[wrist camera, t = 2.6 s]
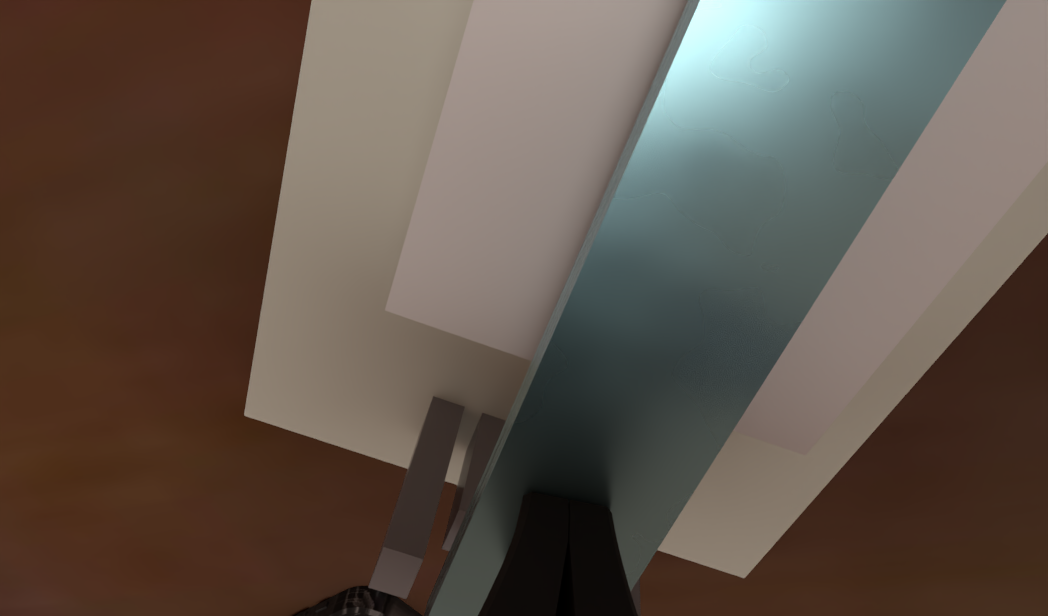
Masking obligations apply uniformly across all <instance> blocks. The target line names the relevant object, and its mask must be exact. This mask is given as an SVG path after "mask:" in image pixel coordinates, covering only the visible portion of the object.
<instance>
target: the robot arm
mask: <svg viewBox="0 0 1048 616" xmlns="http://www.w3.org/2000/svg"><path fill="white" fill-rule="evenodd" d="M478 616H638V614H637V611H636V608H635V605H634V602H633V598H632V595H631V592H630V588H629V585H628V581H627V577H626V574H625V570H624V567H623V563H622V559H621V555H620V551H619V546H618V542H617V537H616V533H615V528H614V522H613V516H612V512H611V511H610V510H609V509H608V507H606V506H601V505H595V504H590V503H585V502H580V501H575V500H569V499H565V498H560V497H555V496H550V495H545V494H540V493H535V492H530V493H528V494H525V495H523V499H522V503H521V507H520V512H519V516H518V520H517V524H516V528H515V532H514V535H513V538H512V541H511V544H510V546H509V549H508V551H507V554H506V556H505V559H504V561H503V564H502V566H501V568H500V570H499V572H498V575H497V577H496V579H495V581H494V583H493V585H492V587H491V590H490V592H489V594H488V596H487V598H486V600H485V602H484V604H483V606H482V608H481V610H480V612H479V614H478Z"/></svg>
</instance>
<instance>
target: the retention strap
mask: <svg viewBox="0 0 1048 616" xmlns="http://www.w3.org/2000/svg"><path fill="white" fill-rule="evenodd" d="M1005 2H1006V0H688V2H687V4H686V7H685V9H684V11H683V14H682V16H681V18H680V20H679V23H678V25H677V27H676V30H675V32H674V34H673V37H672V39H671V41H670V44H669V46H668V48H667V50H666V53H665V55H664V57H663V60H662V62H661V64H660V67H659V69H658V71H657V74H656V76H655V78H654V80H653V83H652V85H651V87H650V90H649V92H648V94H647V97H646V99H645V101H644V104H643V106H642V108H641V110H640V113H639V115H638V117H637V120H636V122H635V124H634V127H633V129H632V131H631V133H630V136H629V138H628V140H627V143H626V145H625V147H624V150H623V152H622V154H621V157H620V159H619V161H618V163H617V166H616V168H615V170H614V173H613V175H612V177H611V180H610V182H609V184H608V187H607V189H606V191H605V193H604V196H603V198H602V200H601V203H600V205H599V207H598V210H597V212H596V214H595V217H594V219H593V221H592V223H591V226H590V228H589V230H588V233H587V235H586V237H585V240H584V242H583V244H582V246H581V249H580V251H579V253H578V256H577V258H576V260H575V263H574V265H573V267H572V270H571V272H570V274H569V276H568V279H567V281H566V283H565V286H564V288H563V290H562V293H561V295H560V297H559V300H558V302H557V304H556V306H555V309H554V311H553V313H552V316H551V318H550V320H549V323H548V325H547V327H546V330H545V332H544V334H543V336H542V339H541V341H540V343H539V346H538V348H537V350H536V353H535V355H534V357H533V359H532V362H531V364H530V366H529V369H528V371H527V373H526V376H525V378H524V380H523V383H522V385H521V387H520V389H519V392H518V394H517V396H516V399H515V401H514V403H513V406H512V408H511V410H510V413H509V415H508V417H507V419H506V422H505V424H504V426H503V429H502V431H501V433H500V436H499V438H498V440H497V443H496V445H495V447H494V449H493V452H492V454H491V456H490V459H489V461H488V463H487V466H486V468H485V470H484V472H483V475H482V477H481V479H480V482H479V484H478V486H477V489H476V491H475V493H474V496H473V498H472V500H471V502H470V505H469V507H468V509H467V512H466V514H465V516H464V519H463V521H462V523H461V526H460V528H459V530H458V532H457V535H456V537H455V539H454V542H453V544H452V546H451V549H450V551H449V553H448V556H447V558H446V560H445V562H444V565H443V567H442V569H441V572H440V574H439V576H438V579H437V581H436V583H435V585H434V588H433V590H432V592H431V595H430V597H429V599H428V602H427V606H426V611H425V615H424V616H478V614H479V612H480V610H481V608H482V606H483V604H484V602H485V600H486V598H487V596H488V594H489V592H490V590H491V587H492V585H493V583H494V581H495V579H496V577H497V575H498V572H499V570H500V568H501V566H502V564H503V561H504V559H505V556H506V554H507V551H508V549H509V546H510V544H511V541H512V538H513V535H514V532H515V528H516V524H517V520H518V516H519V512H520V507H521V503H522V499H523V495H525V494H528V493H530V492H535V493H540V494H545V495H550V496H555V497H560V498H565V499H569V500H575V501H580V502H585V503H590V504H595V505H601V506H606V507H608V509H609V510H610V511H611V512H612V516H613V522H614V528H615V533H616V537H617V542H618V546H619V551H620V555H621V559H622V563H623V567H624V570H625V574H626V577H627V581H628V585H629V588H630V592H631V590H632V589H633V587H634V585H635V584H636V582H637V581H638V579H639V578H640V576H641V574H642V573H643V571H644V570H645V568H646V567H647V565H648V563H649V562H650V560H651V559H652V557H653V556H654V554H655V552H656V551H657V549H658V548H659V546H660V545H661V543H662V541H663V540H664V538H665V537H666V535H667V534H668V532H669V530H670V529H671V527H672V526H673V524H674V523H675V521H676V519H677V518H678V516H679V515H680V513H681V512H682V510H683V508H684V507H685V505H686V504H687V502H688V501H689V499H690V497H691V496H692V494H693V493H694V491H695V490H696V488H697V486H698V485H699V483H700V482H701V480H702V479H703V477H704V475H705V474H706V472H707V471H708V469H709V468H710V466H711V464H712V463H713V461H714V460H715V458H716V457H717V455H718V453H719V452H720V450H721V449H722V447H723V446H724V444H725V442H726V441H727V439H728V438H729V436H730V435H731V433H732V431H733V430H734V428H735V427H736V425H737V424H738V422H739V420H740V419H741V417H742V416H743V414H744V412H745V411H746V409H747V408H748V406H749V405H750V403H751V401H752V400H753V398H754V397H755V395H756V394H757V392H758V390H759V389H760V387H761V386H762V384H763V383H764V381H765V379H766V378H767V376H768V375H769V373H770V372H771V370H772V368H773V367H774V365H775V364H776V362H777V361H778V359H779V357H780V356H781V354H782V353H783V351H784V350H785V348H786V346H787V345H788V343H789V342H790V340H791V339H792V337H793V335H794V334H795V332H796V331H797V329H798V328H799V326H800V324H801V323H802V321H803V320H804V318H805V317H806V315H807V313H808V312H809V310H810V309H811V307H812V306H813V304H814V302H815V301H816V299H817V298H818V296H819V295H820V293H821V291H822V290H823V288H824V287H825V285H826V284H827V282H828V280H829V279H830V277H831V276H832V274H833V273H834V271H835V269H836V268H837V266H838V265H839V263H840V262H841V260H842V258H843V257H844V255H845V254H846V252H847V251H848V249H849V247H850V246H851V244H852V243H853V241H854V239H855V238H856V236H857V235H858V233H859V232H860V230H861V228H862V227H863V225H864V224H865V222H866V221H867V219H868V217H869V216H870V214H871V213H872V211H873V210H874V208H875V206H876V205H877V203H878V202H879V200H880V199H881V197H882V195H883V194H884V192H885V191H886V189H887V188H888V186H889V184H890V183H891V181H892V180H893V178H894V177H895V175H896V173H897V172H898V170H899V169H900V167H901V166H902V164H903V162H904V161H905V159H906V158H907V156H908V155H909V153H910V151H911V150H912V148H913V147H914V145H915V144H916V142H917V140H918V139H919V137H920V136H921V134H922V133H923V131H924V129H925V128H926V126H927V125H928V123H929V122H930V120H931V118H932V117H933V115H934V114H935V112H936V111H937V109H938V107H939V106H940V104H941V103H942V101H943V100H944V98H945V96H946V95H947V93H948V92H949V90H950V89H951V87H952V85H953V84H954V82H955V81H956V79H957V78H958V76H959V74H960V73H961V71H962V70H963V68H964V67H965V65H966V63H967V62H968V60H969V59H970V57H971V55H972V54H973V52H974V51H975V49H976V48H977V46H978V44H979V43H980V41H981V40H982V38H983V37H984V35H985V33H986V32H987V30H988V29H989V27H990V26H991V24H992V22H993V21H994V19H995V18H996V16H997V15H998V13H999V11H1000V10H1001V8H1002V7H1003V5H1004V4H1005Z"/></svg>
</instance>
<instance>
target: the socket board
mask: <svg viewBox="0 0 1048 616" xmlns="http://www.w3.org/2000/svg"><path fill="white" fill-rule="evenodd" d="M687 2H688V0H312V2H311V8H310V15H309V21H308V27H307V33H306V39H305V45H304V51H303V57H302V63H301V70H300V76H299V82H298V88H297V94H296V100H295V106H294V112H293V119H292V125H291V131H290V137H289V143H288V149H287V155H286V161H285V167H284V174H283V180H282V186H281V192H280V198H279V204H278V210H277V216H276V223H275V229H274V235H273V241H272V247H271V253H270V259H269V265H268V271H267V278H266V284H265V290H264V296H263V302H262V308H261V314H260V320H259V327H258V333H257V339H256V345H255V351H254V357H253V363H252V369H251V375H250V382H249V388H248V394H247V400H246V406H245V412H244V416H247V417H250V418H253V419H256V420H259V421H262V422H265V423H268V424H272V425H275V426H278V427H281V428H284V429H287V430H290V431H293V432H296V433H299V434H302V435H305V436H308V437H312V438H315V439H318V440H321V441H324V442H327V443H330V444H333V445H336V446H339V447H342V448H345V449H348V450H351V451H355V452H358V453H361V454H364V455H367V456H370V457H373V458H376V459H379V460H382V461H385V462H388V463H391V464H395V465H398V466H401V467H404V468H407V469H408V470H407V473H406V476H405V479H404V482H403V485H402V488H401V491H400V494H399V497H398V500H397V503H396V506H395V509H394V512H393V515H392V518H391V521H390V524H389V527H388V530H387V533H386V536H385V539H384V542H383V545H382V548H381V551H380V554H379V557H378V560H377V563H376V566H375V569H374V572H373V575H372V578H371V581H370V584H369V587H368V588H372V589H375V590H378V591H381V592H385V593H388V594H391V595H394V596H398V597H401V598H404V599H407V596H408V594H409V592H410V589H411V587H412V585H413V582H414V580H415V578H416V575H417V573H418V571H419V568H420V566H421V564H422V561H423V559H424V555H425V552H426V548H427V544H428V541H429V537H430V533H431V530H432V526H433V522H434V518H435V515H436V511H437V507H438V504H439V500H440V496H441V493H442V489H443V485H444V482H445V481H447V482H450V483H453V484H456V485H457V489H456V493H455V497H454V501H453V505H452V509H451V513H450V517H449V521H448V525H447V529H446V533H445V537H444V541H443V545H442V549H444V550H447V551H450V549H451V546H452V544H453V542H454V539H455V537H456V535H457V532H458V530H459V528H460V526H461V523H462V521H463V519H464V516H465V514H466V512H467V509H468V507H469V505H470V502H471V500H472V498H473V496H474V493H475V491H476V489H477V486H478V484H479V482H480V479H481V477H482V475H483V472H484V470H485V468H486V466H487V463H488V461H489V459H490V456H491V454H492V452H493V449H494V447H495V445H496V443H497V440H498V438H499V436H500V433H501V431H502V429H503V426H504V424H505V422H506V419H507V417H508V415H509V413H510V410H511V408H512V406H513V403H514V401H515V399H516V396H517V394H518V392H519V389H520V387H521V385H522V383H523V380H524V378H525V376H526V373H527V371H528V369H529V366H530V364H531V362H532V359H533V357H534V355H535V353H536V350H537V348H538V346H539V343H540V341H541V339H542V336H543V334H544V332H545V330H546V327H547V325H548V323H549V320H550V318H551V316H552V313H553V311H554V309H555V306H556V304H557V302H558V300H559V297H560V295H561V293H562V290H563V288H564V286H565V283H566V281H567V279H568V276H569V274H570V272H571V270H572V267H573V265H574V263H575V260H576V258H577V256H578V253H579V251H580V249H581V246H582V244H583V242H584V240H585V237H586V235H587V233H588V230H589V228H590V226H591V223H592V221H593V219H594V217H595V214H596V212H597V210H598V207H599V205H600V203H601V200H602V198H603V196H604V193H605V191H606V189H607V187H608V184H609V182H610V180H611V177H612V175H613V173H614V170H615V168H616V166H617V163H618V161H619V159H620V157H621V154H622V152H623V150H624V147H625V145H626V143H627V140H628V138H629V136H630V133H631V131H632V129H633V127H634V124H635V122H636V120H637V117H638V115H639V113H640V110H641V108H642V106H643V104H644V101H645V99H646V97H647V94H648V92H649V90H650V87H651V85H652V83H653V80H654V78H655V76H656V74H657V71H658V69H659V67H660V64H661V62H662V60H663V57H664V55H665V53H666V50H667V48H668V46H669V44H670V41H671V39H672V37H673V34H674V32H675V30H676V27H677V25H678V23H679V20H680V18H681V16H682V14H683V11H684V9H685V7H686V4H687ZM1047 233H1048V0H1006V2H1005V4H1004V5H1003V7H1002V8H1001V10H1000V11H999V13H998V15H997V16H996V18H995V19H994V21H993V22H992V24H991V26H990V27H989V29H988V30H987V32H986V33H985V35H984V37H983V38H982V40H981V41H980V43H979V44H978V46H977V48H976V49H975V51H974V52H973V54H972V55H971V57H970V59H969V60H968V62H967V63H966V65H965V67H964V68H963V70H962V71H961V73H960V74H959V76H958V78H957V79H956V81H955V82H954V84H953V85H952V87H951V89H950V90H949V92H948V93H947V95H946V96H945V98H944V100H943V101H942V103H941V104H940V106H939V107H938V109H937V111H936V112H935V114H934V115H933V117H932V118H931V120H930V122H929V123H928V125H927V126H926V128H925V129H924V131H923V133H922V134H921V136H920V137H919V139H918V140H917V142H916V144H915V145H914V147H913V148H912V150H911V151H910V153H909V155H908V156H907V158H906V159H905V161H904V162H903V164H902V166H901V167H900V169H899V170H898V172H897V173H896V175H895V177H894V178H893V180H892V181H891V183H890V184H889V186H888V188H887V189H886V191H885V192H884V194H883V195H882V197H881V199H880V200H879V202H878V203H877V205H876V206H875V208H874V210H873V211H872V213H871V214H870V216H869V217H868V219H867V221H866V222H865V224H864V225H863V227H862V228H861V230H860V232H859V233H858V235H857V236H856V238H855V239H854V241H853V243H852V244H851V246H850V247H849V249H848V251H847V252H846V254H845V255H844V257H843V258H842V260H841V262H840V263H839V265H838V266H837V268H836V269H835V271H834V273H833V274H832V276H831V277H830V279H829V280H828V282H827V284H826V285H825V287H824V288H823V290H822V291H821V293H820V295H819V296H818V298H817V299H816V301H815V302H814V304H813V306H812V307H811V309H810V310H809V312H808V313H807V315H806V317H805V318H804V320H803V321H802V323H801V324H800V326H799V328H798V329H797V331H796V332H795V334H794V335H793V337H792V339H791V340H790V342H789V343H788V345H787V346H786V348H785V350H784V351H783V353H782V354H781V356H780V357H779V359H778V361H777V362H776V364H775V365H774V367H773V368H772V370H771V372H770V373H769V375H768V376H767V378H766V379H765V381H764V383H763V384H762V386H761V387H760V389H759V390H758V392H757V394H756V395H755V397H754V398H753V400H752V401H751V403H750V405H749V406H748V408H747V409H746V411H745V412H744V414H743V416H742V417H741V419H740V420H739V422H738V424H737V425H736V427H735V428H734V430H733V431H732V433H731V435H730V436H729V438H728V439H727V441H726V442H725V444H724V446H723V447H722V449H721V450H720V452H719V453H718V455H717V457H716V458H715V460H714V461H713V463H712V464H711V466H710V468H709V469H708V471H707V472H706V474H705V475H704V477H703V479H702V480H701V482H700V483H699V485H698V486H697V488H696V490H695V491H694V493H693V494H692V496H691V497H690V499H689V501H688V502H687V504H686V505H685V507H684V508H683V510H682V512H681V513H680V515H679V516H678V518H677V519H676V521H675V523H674V524H673V526H672V527H671V529H670V530H669V532H668V534H667V535H666V537H665V538H664V540H663V541H662V543H661V545H660V546H659V548H658V549H657V550H659V551H662V552H665V553H668V554H671V555H674V556H677V557H680V558H683V559H686V560H690V561H693V562H696V563H699V564H702V565H705V566H708V567H711V568H714V569H717V570H720V571H723V572H726V573H729V574H733V575H736V576H739V577H742V578H745V577H746V576H747V575H748V574H749V573H750V571H751V570H752V569H753V568H754V567H755V566H756V565H757V563H758V562H759V561H760V560H761V559H762V558H763V557H764V555H765V554H766V553H767V552H768V551H769V550H770V549H771V548H772V546H773V545H774V544H775V543H776V542H777V541H778V540H779V538H780V537H781V536H782V535H783V534H784V533H785V532H786V530H787V529H788V528H789V527H790V526H791V525H792V524H793V522H794V521H795V520H796V519H797V518H798V517H799V516H800V514H801V513H802V512H803V511H804V510H805V509H806V508H807V507H808V505H809V504H810V503H811V502H812V501H813V500H814V499H815V497H816V496H817V495H818V494H819V493H820V492H821V491H822V489H823V488H824V487H825V486H826V485H827V484H828V483H829V481H830V480H831V479H832V478H833V477H834V476H835V475H836V474H837V472H838V471H839V470H840V469H841V468H842V467H843V466H844V464H845V463H846V462H847V461H848V460H849V459H850V458H851V456H852V455H853V454H854V453H855V452H856V451H857V450H858V448H859V447H860V446H861V445H862V444H863V443H864V442H865V441H866V439H867V438H868V437H869V436H870V435H871V434H872V433H873V431H874V430H875V429H876V428H877V427H878V426H879V425H880V423H881V422H882V421H883V420H884V419H885V418H886V417H887V415H888V414H889V413H890V412H891V411H892V410H893V409H894V408H895V406H896V405H897V404H898V403H899V402H900V401H901V400H902V398H903V397H904V396H905V395H906V394H907V393H908V392H909V390H910V389H911V388H912V387H913V386H914V385H915V384H916V382H917V381H918V380H919V379H920V378H921V377H922V376H923V375H924V373H925V372H926V371H927V370H928V369H929V368H930V367H931V365H932V364H933V363H934V362H935V361H936V360H937V359H938V357H939V356H940V355H941V354H942V353H943V352H944V351H945V349H946V348H947V347H948V346H949V345H950V344H951V343H952V341H953V340H954V339H955V338H956V337H957V336H958V335H959V334H960V332H961V331H962V330H963V329H964V328H965V327H966V326H967V324H968V323H969V322H970V321H971V320H972V319H973V318H974V316H975V315H976V314H977V313H978V312H979V311H980V310H981V308H982V307H983V306H984V305H985V304H986V303H987V302H988V301H989V299H990V298H991V297H992V296H993V295H994V294H995V293H996V291H997V290H998V289H999V288H1000V287H1001V286H1002V285H1003V283H1004V282H1005V281H1006V280H1007V279H1008V278H1009V277H1010V275H1011V274H1012V273H1013V272H1014V271H1015V270H1016V269H1017V268H1018V266H1019V265H1020V264H1021V263H1022V262H1023V261H1024V260H1025V258H1026V257H1027V256H1028V255H1029V254H1030V253H1031V252H1032V250H1033V249H1034V248H1035V247H1036V246H1037V245H1038V244H1039V242H1040V241H1041V240H1042V239H1043V238H1044V237H1045V236H1046V235H1047ZM631 595H632V598H633V602H634V605H635V608H636V611H637V614H638V616H640V578H639V579H638V581H637V582H636V584H635V585H634V587H633V589H632V590H631Z"/></svg>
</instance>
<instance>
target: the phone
mask: <svg viewBox="0 0 1048 616" xmlns="http://www.w3.org/2000/svg"><path fill="white" fill-rule="evenodd" d="M368 587H369V586H357V587H353V588H350V589H347V590H345V591H343V592H341V593H339V594H337V595H335V596H333V597H331V598H329V599H327V600H325V601H323V602H321V603H319V604H317V605H315V606H313V607H311V608H309V609H307V610H305V611H303V612H301V613H299V614H297V615H295V616H422V615H420V614H419V613H418V612H416V611H415V610H414V609H412V608H411V607H410V606H408V605H407V604H406V603H404V602H403V601H402V600H400V599H399V598H398V597H396V596H394V595H391V594H388V593H385V592H381V591H378V590H375V589H372V588H368Z"/></svg>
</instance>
